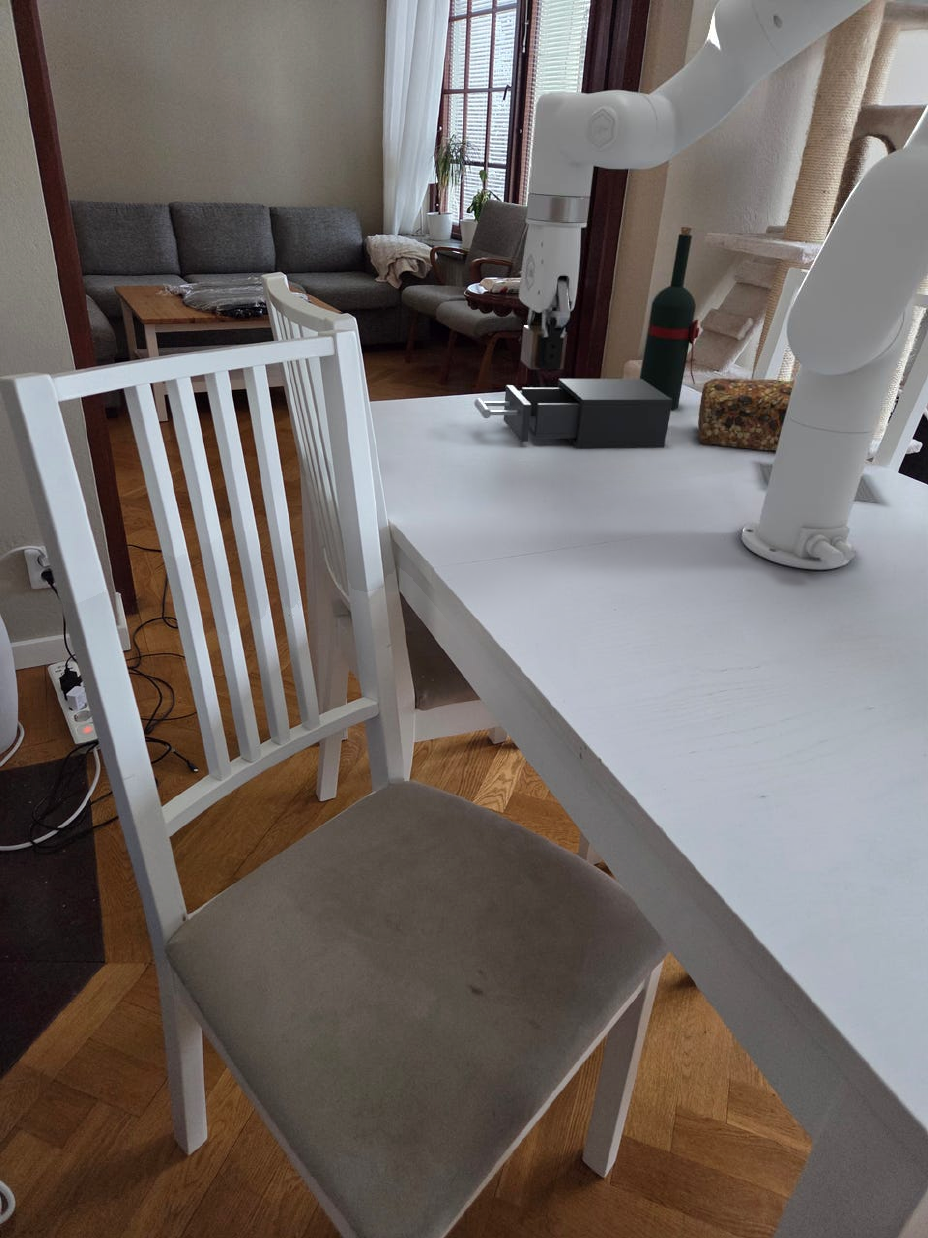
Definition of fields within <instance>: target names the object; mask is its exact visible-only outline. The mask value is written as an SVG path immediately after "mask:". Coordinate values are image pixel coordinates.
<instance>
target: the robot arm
mask: <svg viewBox="0 0 928 1238" xmlns="http://www.w3.org/2000/svg"><path fill="white" fill-rule="evenodd" d="M871 1H872V0H719V1H718V2H717V4H716V5H715V7H714V10H713V13H712V18H711V23H710V28H709V31H708V35H707V37H706V40H705V42H704V44H703V45H702V47H701V48H700V49H699V50H698V52H697V53H696V54H695V55H694V56H693V58H692V59H691V60H690V61H689V62H688V63H686V65H685V66H684V67H682V68H681V69H680V70H679V71H678V72H677V73H675V74H674V75H673V76H672V77H671V78H669V79H668V80H667V81H665V82H664V83H663V84H662V85H660V86H659V87H657V88H656V89H655V90H654V91H652V92H650V93H649V94H648V93H642V92H639V91H638V92H637V91H628V90H622V89H612V90H603V91H598V92H597V91H596V92H592V93H584V92H576V91H575V92H574V91H547V92H544V93H542V94H541V95H540V96H539V97H538V98H537V101H536V102H535V109H534V116H533V129H532V139H531V140H532V141H531V153H530V166H529V177H528V179H529V180H528V191H527V192H528V193H527V201H526V212H525V213H526V214H525V223H526V224H528V226H527V231H526V237H525V244H524V249H523V257H522V264H521V271H520V280H519V289H518V298H519V301H520V302H521V303H522V304H523V305H525V306H527V310H528V315H527V321H526V324H527V325H526V326H542V336H539V340H538V351H537V361H536V367H537V368H538V369H537V370H560V369H559V368H560V367H561V358H562V349H563V340H564V336H565V332H566V326H567V323H568V322H569V321H570V319H571V312H572V311H573V310H574V308H575V305H576V300H577V294H578V283H579V274H580V260H581V243H582V241H581V237H582V228H587V225H588V217H589V207H590V197H591V191H592V183H593V174H594V167H599V168H602V169H608V170H649V169H652V168H655V167H658V166H660V165H662V164H664V163H666V162H667V161H669V160H671V159H672V158H674V157H675V156H677V155H678V154H679V153H682V152H683V151H684V150H685V149H687V148H688V147H690V146H691V145H692V144H694V143H695V142H697V141H698V140H699V139H701V138H703V137H704V136H705V135H706V134H708V133H709V132H711V131H712V130H713V129H714V128H715V127H717V126H718V125H719V124H720V123H722V122H723V120H725V118H726V117H728V116H729V115H730V114H731V113H732V112H733V111H734V110H735V109H736V108H737V107H738V105H739V104H741V103H742V102H743V101H744V100H745V99H746V98H747V97H748V96H749V95H750V93H751V92H752V91H753V89H754V88H755V87H757V85H758V84H759V83H761V82H762V81H763V80H764V79H765V78H767V77H768V76H769V75H771V74H772V73H774V72H775V71H776V70H778V69H779V68H780V67H782V66H784V65H785V64H786V63H787V62H789V61H790V60H791V59H793V58H794V57H796V56H797V55H798V54H799V53H801V52H802V51H804V50H805V49H807V48H808V47H809V46H811V45H812V44H813V43H815V42H816V41H818V40H819V39H820V38H823V36H824V35H826V34H827V33H829V32H830V31H832V30H833V29H834V28H836V27H837V26H839V25H840V24H841V23H843V22H844V21H845V20H847V19H848V18H849V17H851V16H853V15H854V14H855V13H856V12H858V11H859V10H861V9H862V8H863V7H865V6H866V5H867V4H869V3H870V2H871ZM882 1H883V2H891V3H892V2H893V3H900V4H901V3H902V4H909V5H917V6H925V7H928V0H882ZM927 276H928V104H926V107H925V109H924V111H923V113H922V115H921V117H920V118H919V120H918V122H917V123H916V125H915V127H914V128H913V131H912V132H911V134H910V136H909V137H908V139H907V141H906V142H905V144H904V145H903V147H902V148H900V149H897V150H895V151H892V152H890V153H889V154H886V156H884V157H882V158H880V160H878V161H877V162H875V164H873V165H872V166H871V167H870V168H869V169H868V170H867V171H866V172H865V173H864V175H863V176H862V177H861V178H860V180H858V182H857V183H856V185H854V187H853V189H852V190H851V192H850V194H849V196H848V197H847V199H846V201H845V202H844V204H843V206H842V208H841V210H840V211H839V213H838V215H837V217H836V219H835V220H834V223H833V225H832V226H831V228H830V231H829V232H828V234H827V236H826V238H825V240H824V242H823V244H822V246H821V247H820V250H819V251H818V253H817V255H816V257H815V259H814V261H813V263H812V264H811V266H810V269H809V270H808V272H807V274H806V276H805V278H804V280H803V282H802V283H801V286H800V288H799V289H798V291H797V293H796V295H795V298H794V300H793V302H792V305H791V307H790V309H789V313H788V317H787V322H786V339H787V343H788V347H789V349H790V352H791V353H792V355H793V357H794V358H795V360H796V361H797V362H798V363H799V367H798V370H797V372H796V375H795V379H794V381H795V382H794V385H793V389H792V392H791V396H790V400H789V404H788V408H787V412H786V415H785V419H784V423H783V427H782V431H781V435H780V439H779V443H778V447H777V451H775V455H774V459H773V464H772V465H773V467H772V471H771V475H770V479H769V483H768V487H767V486H766V492H765V496H764V499H763V504H762V507H761V511H760V516H759V519H756V520H753V521H750V522H749V523H747V524H746V525H744V527H743V529H742V533H741V540H742V541H741V542H742V543H743V545H745V546H746V548H747V549H748V550H750V551H751V552H753V553H754V554H756V555H757V556H759V557H761V558H764V559H766V560H768V561H771V562H774V563H777V564H780V565H784V566H788V567H793V568H798V569H803V570H820V571H822V570H833V569H839V568H841V567H843V566H845V565H847V564H848V563H850V561H851V560H853V559H854V558H855V557H856V554H857V551H856V550H855V548H853V545H852V544H851V542H849V540H848V536H849V534H850V531H851V528H850V527H848V526H847V524H848V521H849V518H850V515H851V511H852V508H853V505H854V502H855V500H854V499H855V495H856V492H857V489H858V486H859V482H860V479H861V476H863V472H864V469H865V466H866V463H867V459H868V456H869V453H870V451H871V450H870V449H871V446H872V443H873V440H874V436H875V433H876V430H877V428H878V424H879V421H880V419H881V415H882V412H883V408H884V405H885V403H886V400H887V396H888V393H889V390H890V387H891V384H892V382H893V379H894V375H895V373H896V370H897V367H898V365H899V363H900V359H901V357H902V354H903V352H904V349H905V346H906V343H907V341H908V338H909V336H910V332H911V329H912V326H913V321H914V315H915V301H914V300H915V298H914V296H915V295H916V293H917V292H918V291H919V289H920V287H921V285H922V283H923V282H924V280H925V278H926V277H927ZM553 308H556V310H553Z"/></svg>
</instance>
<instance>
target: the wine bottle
mask: <svg viewBox="0 0 928 1238" xmlns="http://www.w3.org/2000/svg"><path fill="white" fill-rule="evenodd" d="M692 230H693V226H684V225H682V226H681V227H680V233H679V234H678V237H677V241H676V242H677V243H676V250H675V255H674V260H673V266H672V274H671V279H670V285H669V286H666V287H664V288H662V289H661V290H660V291H658V292H657V293H656V294H655V295H654V297H653V298H652V300H651V304H650V309H649V317H648V322H647V329H646V335H645V341H644V347H643V351H642V352H643V353H642V358H641V364H640V371H639V377H638V379H642V380H644V381H645V382H647V383H648V384H650V385H651V386H653V387H654V388H656V389H657V390H659V391H660V392H662V393H663V394H665V395H666V396H668V397H669V398H671V399H672V404H671V405H672V406H671V411H675V410H677V409H679V404H680V398H681V393H682V388H683V382H684V375H685V370H686V365H687V359H688V353H689V347H690V345H691V359H690V376H691V379H692V383H693V385H694V386H693V387H695V386H696V385H695V384H696V381H695V379H694V374H693V359H694V345H695V344H694V343H695V339H698V338H699V333H700V327H698V325H699V319H698V318H697V319H695V320H694V318H695V313H696V307H697V305H696V301H695V298H694V296H693V294H692V293H691V292H690V291H689V290H688V289H687V288H686V287H684V285H685V278H686V272H687V268H688V261H689V255H690V250H691V245H692V239H693V235H692V234H691V232H692Z"/></svg>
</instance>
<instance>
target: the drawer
mask: <svg viewBox="0 0 928 1238" xmlns="http://www.w3.org/2000/svg"><path fill="white" fill-rule="evenodd" d="M504 394H505V396H504V401H484V400H482V399H481V398H477V399H475V400H474V403H473V404H474V406H475V408H476V409H477V411H478V412H479V413H480V415H481V416H482V417H483V418H484V419H488V418H490V417H491V416H503V422H504V423H505V424H506V425H507V427H508V428H509V429H510V430H511V432H512V434H513V435H514V436H515V437H516V438H517V440H518V441H519V442H520V443H528V442H529V436H530V434H531V435H532V437H533V438H534V439H536V440H540V439H543V440H545V439H549V440H550V439H568V438H577V430H578V422H579V414H580V406H581V403H580V402H579V401H578V400H576V399H575V398H574V397H573V396H572V395H571V394H570V393H568V392H567V391H566V390H565V389H564V388H558V387H521V392H520V391H519V390H518V389H517V388H516V386H515V385H513V384H506V385H505V393H504ZM489 407H503V410H490V408H489Z"/></svg>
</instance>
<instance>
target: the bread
mask: <svg viewBox="0 0 928 1238" xmlns="http://www.w3.org/2000/svg"><path fill="white" fill-rule="evenodd" d="M794 382H795V380H777V379H761V378H759V379H747V378H721V377H720V378H719V377H718V378H717V377H716V378H712V379H710V380H707V381H706V382H705V383H704V384H703V389H702V392H701V396H700V403H699V408H698V415H697V416H698V420H697V428H698V438H699V442H700V443H702V444H703V445H712V444H713V445H718V446H721V447H731V448H740V449H741V448H742V449H743V448H744V449H750V450H761V451H762V450H764V451H775V452H776V451H777V447H778V443H779V439H780V435H781V431H782V427H783V423H784V419H785V415H786V412H787V408H788V404H789V400H790V396H791V392H792V389H793V385H794Z"/></svg>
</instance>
